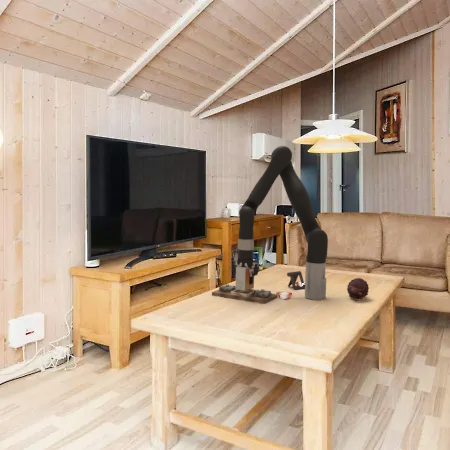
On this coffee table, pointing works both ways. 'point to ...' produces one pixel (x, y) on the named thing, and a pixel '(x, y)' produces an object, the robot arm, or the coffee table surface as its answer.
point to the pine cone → (358, 288)
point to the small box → (243, 278)
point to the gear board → (245, 294)
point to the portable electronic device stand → (293, 279)
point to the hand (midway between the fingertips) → (244, 283)
